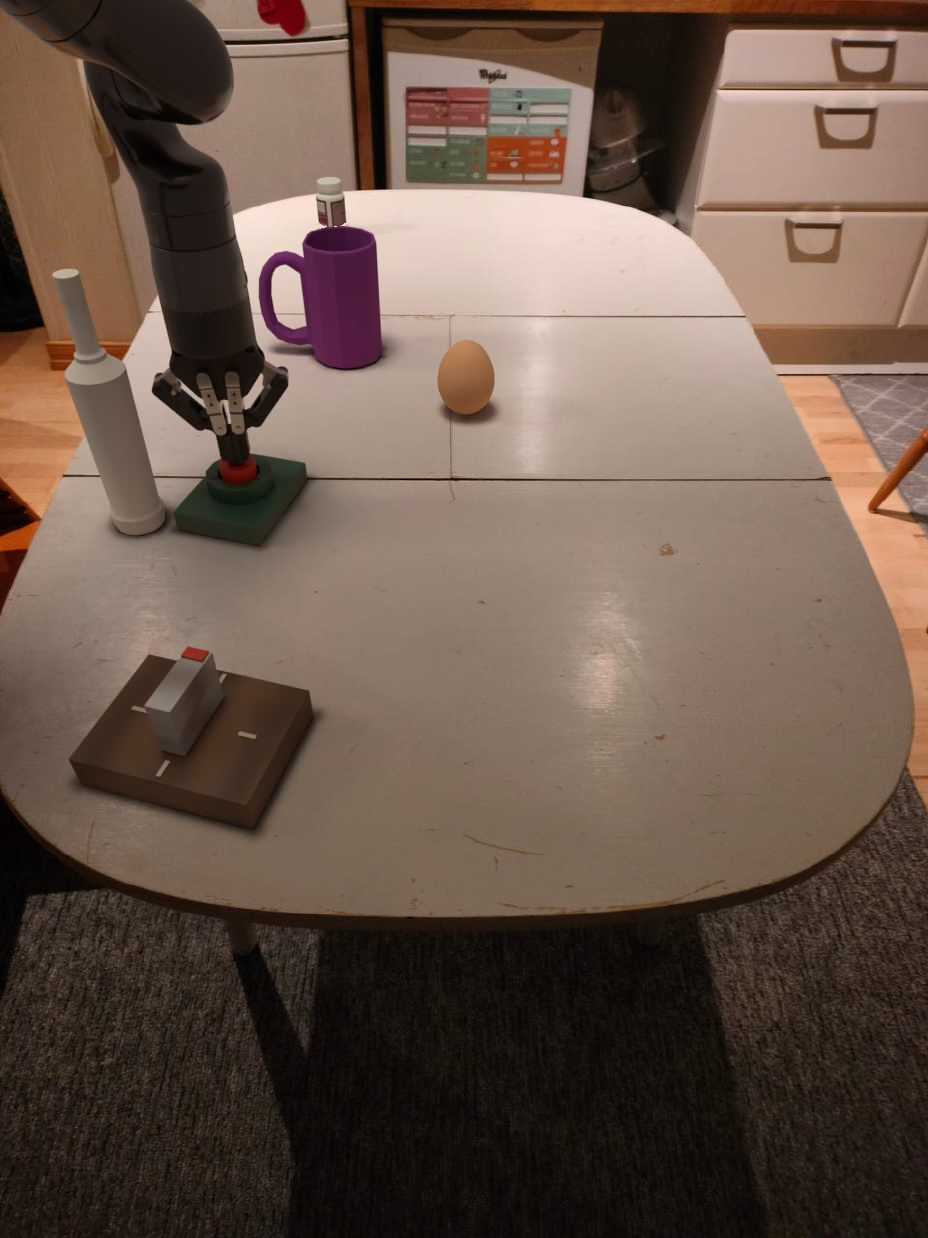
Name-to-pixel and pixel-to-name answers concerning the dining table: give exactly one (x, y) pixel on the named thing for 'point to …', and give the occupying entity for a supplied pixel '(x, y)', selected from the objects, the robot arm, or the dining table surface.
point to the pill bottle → (330, 202)
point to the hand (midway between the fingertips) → (237, 461)
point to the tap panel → (198, 747)
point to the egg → (466, 377)
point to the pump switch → (242, 501)
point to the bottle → (109, 417)
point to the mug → (332, 296)
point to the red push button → (238, 471)
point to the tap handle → (185, 701)
